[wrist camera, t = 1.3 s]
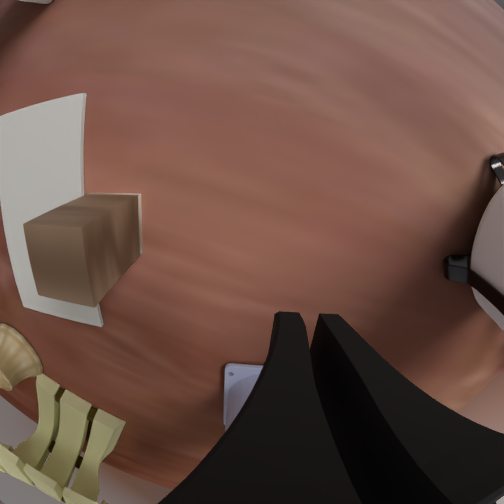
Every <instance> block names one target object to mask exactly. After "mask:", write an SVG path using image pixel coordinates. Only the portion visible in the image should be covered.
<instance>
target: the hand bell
mask: <svg viewBox="0 0 504 504" xmlns="http://www.w3.org/2000/svg"><path fill="white" fill-rule="evenodd" d="M42 373H43V366H42V363H41V361H40V359H39V357H38V355H37V353H36V352H35V350H34V349H33V347H32V346H31V345H30V344H29V343H28V341H27V340H26V339H25V338H24V337H23V336H22V335H21V334H20V333H19V332H18V331H17V330H15V329H14V328H12V327H11V326H9V325H7V324H3V323H2V324H0V388H2V389H4V390H7V391H11V390H13V388H14V387H15V386H16V385H17V384H18V383H19V382H21V381H22V380H24V379H26V378H28V377H37V375H41V374H42Z"/></svg>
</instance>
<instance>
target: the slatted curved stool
mask: <svg viewBox="0 0 504 504" xmlns="http://www.w3.org/2000/svg"><path fill="white" fill-rule="evenodd" d="M36 388H37V397H38V406H39V422H38V426H37V429H36V431H35V432H34V434H33V435H32V436H31V437H30V438H28V439H27V440H26V441H24V442H23V443H20V444H19V445H18V447H17V448H16V449H15V450H13V448H12V446H9V445H5V444H2V443H0V471H2V472H4V473H6V472H8V473H9V474H10V475H11V476H13V477H15V478H18V479H20V480H22V481H24V482H26V483H28V484H30V485H32V486H33V487H34V485H36V486H37V487H38V489H39V490H41V491H43V492H45V493H46V494H48V495H50V496H52V497H53V498H55V499H57V500H58V501H60V502H62V501H63V502H65V503H66V504H98V503H97V502H96V501H97V497H98V494H99V484H98V469H99V465H100V463H101V462H102V460H103V459H104V458H105V457H106V456H107V455H108V454H110V453H111V452H112V451H113V449H114V447H115V445H116V443H117V441H118V439H119V436H120V434H121V432H122V430H123V428H124V426H125V423H126V422H125V421H123V420H121V419H119V418H117V417H115V416H113V415H111V414H109V413H107V412H105V411H103V410H101V409H99V408H98V410H96V409H94V408H92V404H90V403H89V402H87V401H85V400H83V399H82V398H80V397H78V396H77V395H75V394H73V393H72V392H70V391H68V390H67V389H66V390H65V391H64V390H62V389H61V388H60V385H59V384H58V383H56V382H55V381H53V380H52V379H50V378H49V377H47V376H46V375H44V374H43V373H42V374H41V375H37V380H36ZM89 421H90V422H92V423H93V424H92V428H91V433H90V437H89V441H88V445H87V449H86V452H85V455H84V458H83V457H81V456H80V454H81V452H82V449H83V446H84V443H85V440H86V436H87V429H88V423H89ZM57 435H58V436H57ZM56 437H57V440H56ZM55 440H56V442H55ZM50 452H51V454H50V456H49V458H48V460H47V462H46V464H45V465H44V463H45V461H46V459H47V457H48V455H49V453H50ZM43 466H44V467H43ZM75 467H77V468H79V471H78V473H77V476H76V478H75V481H74V483H73V485H72V487H71V489H68V488H67V487H68V484H69V482H70V479H71V476H72V474H73V472H74V469H75ZM101 504H107V503H106V502H105V501H104V500H103V501H102V503H101Z"/></svg>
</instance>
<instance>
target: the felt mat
mask: <svg viewBox="0 0 504 504" xmlns="http://www.w3.org/2000/svg"><path fill="white" fill-rule="evenodd" d="M86 95H87V93H80V94H76V95H71V96H66V97H62V98H58V99H54V100H50V101H46V102H42V103H39V104H35V105H32V106H29V107H25V108H22V109H19V110H16V111H13V112H10V113H7V114H5V115H2V116H0V201H1V209H2V217H3V224H4V230H5V235H6V241H7V246H8V251H9V255H10V260H11V264H12V268H13V272H14V276H15V280H16V283H17V287H18V290H19V294H20V297H21V300H22V303H23V306H24V307H26V308H29V309H32V310H36V311H39V312H43V313H46V314H50V315H54V316H57V317H61V318H65V319H69V320H73V321H77V322H81V323H86V324H90V325H94V326H99V327H102V326H103V325H104V323H103V319H102V315H101V310H100V306H99V303H98V304H97V306H96V307H95V308H94V307H89V306H84V305H79V304H74V303H70V302H65V301H61V300H56V299H52V298H48V297H44V296H40V295H38V292H37V289H36V285H35V281H34V277H33V273H32V269H31V265H30V260H29V255H28V250H27V245H26V240H25V234H24V228H23V224H24V223H26V222H28V221H30V220H32V219H34V218H36V217H38V216H40V215H42V214H44V213H46V212H48V211H50V210H52V209H55V208H57V207H59V206H61V205H63V204H66V203H68V202H70V201H72V200H75V199H77V198H79V197H82V196H84V166H83V150H84V121H85V106H86Z"/></svg>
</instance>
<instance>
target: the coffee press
mask: <svg viewBox="0 0 504 504" xmlns="http://www.w3.org/2000/svg"><path fill="white" fill-rule="evenodd" d="M500 162H501V163H502V164H503V165H504V153H500V154H497V155H494V156H492V157H491V158H490V166H491V169H492V171H493V172H494V174H495V175H496V177H497V178H498V180H499V182H500V184H501V187H500V188H499V190H498V191H497V192H496V193H495V195H494V196H493V197H492V199H491V201H490V202H489V204H488V206H487V208H486V210H485V212H484V214H483V216H482V218H481V221H480V223H479V226H478V229H477V232H476V236H475V239H474V244H473V249H472V254H469V255H450V256H447V257H446V258H445V259H444V276H445V278H446V279H448V280H451V281H458V282H463V283H466V284H469V285H470V286H472V290H473V294H474V296H475V299H476V301H477V302H478V304H479V305H480V306H481V307H482V309H483V310H484V311H485V312H486V313H487V314H488V315H489V316H490V317H491V318H492V319H493V320H494V321H495V322H496V324H497V325H498V326H499V327H500V328H501V329H502V330H503V331H504V169H503V168H502V166H501V164H500Z"/></svg>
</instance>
